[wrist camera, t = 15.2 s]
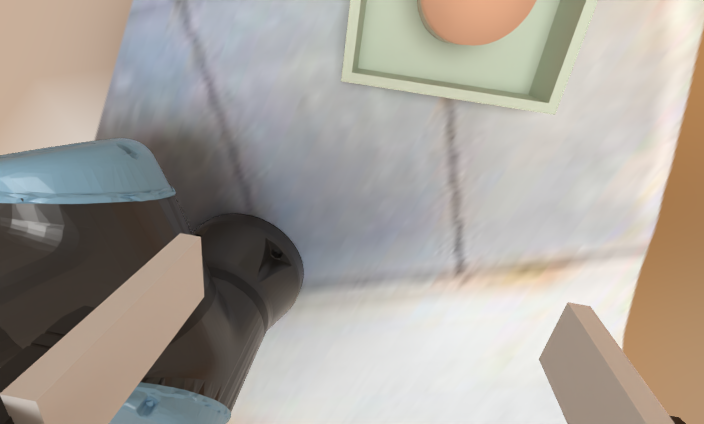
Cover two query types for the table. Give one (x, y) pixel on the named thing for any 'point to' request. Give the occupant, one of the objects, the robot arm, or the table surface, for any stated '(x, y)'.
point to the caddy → (467, 55)
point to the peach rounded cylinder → (472, 19)
